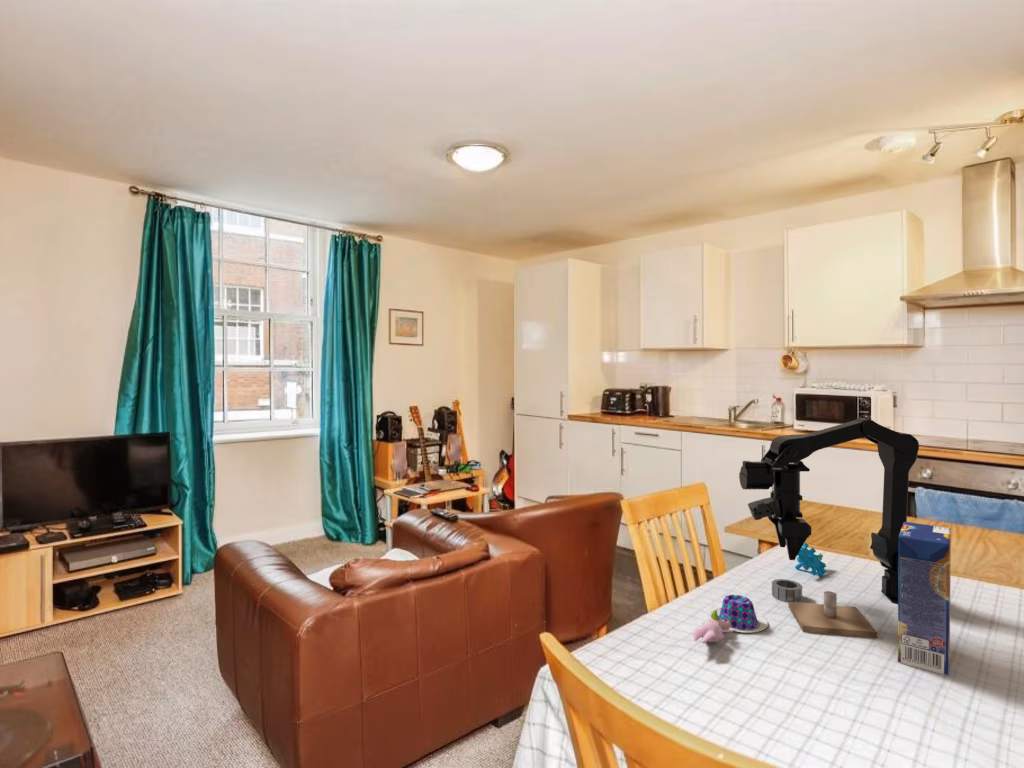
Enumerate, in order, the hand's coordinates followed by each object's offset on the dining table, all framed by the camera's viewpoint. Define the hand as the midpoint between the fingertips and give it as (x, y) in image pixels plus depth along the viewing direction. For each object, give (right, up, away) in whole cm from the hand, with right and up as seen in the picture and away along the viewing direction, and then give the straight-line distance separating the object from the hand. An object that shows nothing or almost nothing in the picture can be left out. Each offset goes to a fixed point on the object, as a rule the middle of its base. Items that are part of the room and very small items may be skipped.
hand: (786, 553), depth 134 cm
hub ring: (0, -11, 0) cm, 11 cm away
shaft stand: (+3, -11, -13) cm, 17 cm away
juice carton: (+13, -12, -27) cm, 32 cm away
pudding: (-17, -12, -12) cm, 23 cm away
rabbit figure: (-25, -12, -20) cm, 34 cm away
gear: (+14, -10, +16) cm, 23 cm away
